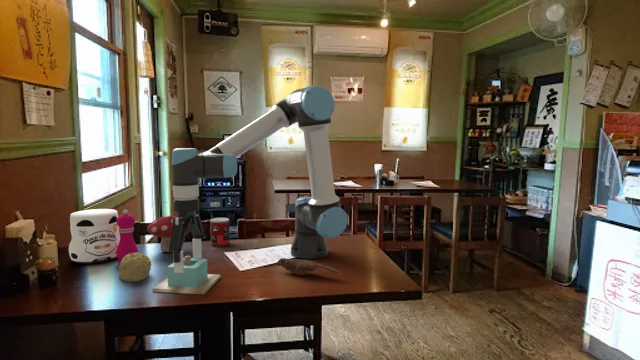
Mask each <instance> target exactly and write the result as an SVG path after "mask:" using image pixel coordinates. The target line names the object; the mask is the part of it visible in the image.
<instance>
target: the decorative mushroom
mask: <svg viewBox="0 0 640 360" xmlns="http://www.w3.org/2000/svg"><path fill="white" fill-rule="evenodd" d="M173 218H178V216H175V215H164V216H161V217H158V218H155V219H154V220H153V221H152V222H150V223H149V224H147V228H146V230H147V232H148V233H150V234H151V235H152V236H155V237H159V238H161V241H160V251H161V252H164V253H168V252H170V251H169V245H170V240H171V234H172V228H173ZM189 233H191V231H190V229H189V230H188V231H187V232H186V236H187V235H188V234H189Z"/></svg>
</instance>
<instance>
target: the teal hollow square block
mask: <svg viewBox="0 0 640 360" xmlns="http://www.w3.org/2000/svg"><path fill="white" fill-rule="evenodd" d="M183 262H184V257H183ZM166 267H167V277H168V286H180V287H197V286H198V285H199V284H200V283H202V282H203V281H204V280H205V279H206V278H207V277H208V274H209V273H208V258H193V257H191V266H186V265H184V272H183V273H174V262H172V263H171V264H170V265H168V266H166Z"/></svg>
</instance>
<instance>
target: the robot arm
mask: <svg viewBox="0 0 640 360" xmlns="http://www.w3.org/2000/svg"><path fill="white" fill-rule="evenodd" d="M335 105H336V103H335V99H334V96H333V95H332V92H331V91H330V90H328V89H327V88H325V87H323V86H321V85H310V86H306V87H303V88H298V89H296V90H294V91H292V92H290V93H289V94H287V95H286V96H285V97H283V98H282V99H281V100H279V101H278V102H277V103H275V104H274V105H272V108H271V110H269V111H268V112H266V113H265V114H263V115H262V116H260V117H259V118H256V119H255V120H253V121H251V123H249V124H248V125H246V126H244V127H243V128H241V129H240V130H237V132H235V133H233V134H232V135H231V136H229V137H227V138H226V139H224V140H222V141H221V142H219V143H218V144H216V145H215V146H214V147H212V148H210V149H208V150H206V151H203V152H201V153H198V149H197V148H194V147H193V148H192V147H189V148H188V147H187V148H186V147H183V148H182V147H180V148H178V147H177V148H174V149H173V150H172V151H171V173H172V175H171V176H172V188H171V190H172V196H173V198H174V199H173V200H172V201H173V211H174V212H175V213H177V214H178V216H177V218H173V228H172V234H171V240H170V245H169V252H170V253H172V255H173V256H172V257H173V263H174V273H183V272H184V262H183V258H184V250H183V247H184V243H185V238H186V236H187V235H186V232H187V231H188V230H189V229H190V233H191V235H192V237H193V238H192V258H195V259H203V257H202V256H203V254H202V252H203V251H202V239H204V238H205V231H204V228H203V224H202V220H201V216H200V215H201V214H200V199H199V198H198V197H199V196H200V189H199V187H200V186H199V179H216V178H217V179H218V178H219V179H220V178H224V179H227V178H231V177H235V176H236V175H237V173H238V161H237V159H238V158H239V157H240V156H242V155H243V154H245V153H246V152H248V151H249V150H251V149H252V148H254V147H255V146H257V145H258V144H260V143H262V142H263V141H264V140H266V139H267V138H269V137H270V136H272V135H273V134H275V133H277V132H278V131H280V130H281V129H283V128H289V127H291V126H292V125H294V124H296V123H297V124H298V125H297V126H298V128H299V129H300V130H301V131H302V133H303V139H304V145H305V146H304V148H305V154H306V163H307V170H308V176H309V178H308V179H309V186H310V192H311V193H310V194H311V196H305V197H304V196H303V197H298V198H297V199H296V200H295V205H294V208H295V209H294V218H295V219H294V225H295V227H294V237H293V240H292V243H291V247H290V254H292V255H291V256H293V255H294V256H293V257H295V256H296V257H295V258H297V259H303V260H313V259H315V260H316V259H321V258H322V259H323V258H325V257H327V256H328V255H329V246H328V243H327V240H326V239H327V238H328V239H333V238H337V237H339V236H340V235H342V233H343V232H344V231H345V230H346V228H347V225H348V215H347V213H346V211H345V210H344V209H343V208H342V207H341V206H342V205H341V199H340V197H339V196H338V195H337V194H336V192H335V191H336V190H335V183H334V182H335V181H334V175H333V174H334V173H333V166H332V164H333V163H332V155H331V148H330V139H329V138H330V137H329V127H330V126H331V125H332V120H331V119H332V118H331V116H332V115H333V113H334V111H335Z"/></svg>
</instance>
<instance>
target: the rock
mask: <svg viewBox="0 0 640 360" xmlns="http://www.w3.org/2000/svg"><path fill="white" fill-rule="evenodd" d="M151 261H152V260H151V259H150V258H149V256H147V255H145V254H144V253H140V252H138V253H130V254H128V255H126V256H125V257H123V259H122V261H121V263H120V265H118V279H120V280H121V281H123V282H139V281H143V280H145V279H147V278H148V277H150V272H151V269H152V263H151Z"/></svg>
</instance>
